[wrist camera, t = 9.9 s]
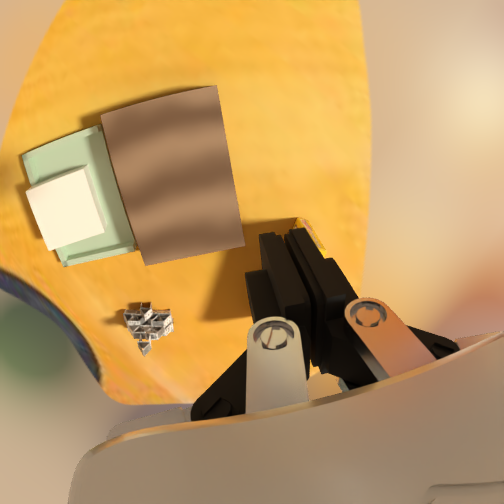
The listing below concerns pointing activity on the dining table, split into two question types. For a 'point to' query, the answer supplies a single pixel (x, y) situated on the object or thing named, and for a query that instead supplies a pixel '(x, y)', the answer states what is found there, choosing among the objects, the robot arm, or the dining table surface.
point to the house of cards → (148, 325)
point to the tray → (97, 157)
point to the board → (175, 175)
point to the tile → (67, 208)
